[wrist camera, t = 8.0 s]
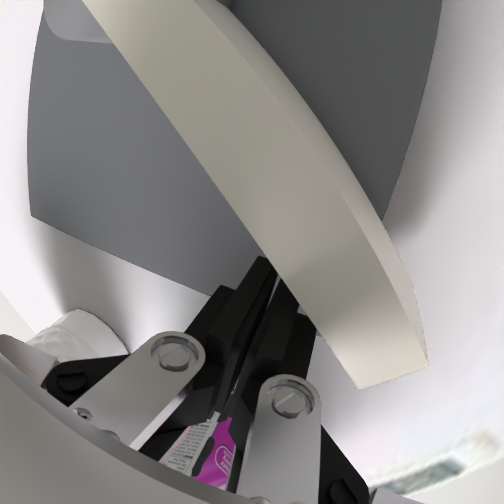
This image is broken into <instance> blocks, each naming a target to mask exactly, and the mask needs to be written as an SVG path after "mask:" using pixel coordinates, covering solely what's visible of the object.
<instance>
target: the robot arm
mask: <svg viewBox="0 0 504 504" xmlns="http://www.w3.org/2000/svg"><path fill="white" fill-rule="evenodd" d="M277 276H278V272H277V271H276V269H275V268H274V267H273V265H272V264H271V262H270V261H269V259H268V258H265V257H262V256H258V257H257V258H256V260H255V261H254V263H253V264H252V266H251V268H250V269H249V271H248V272H247V274H246V275H245V277H244V278H243V280H242V281H241V283H240V284H239V286H238V288H237V289H236V290H235V289H232V288H229V287H227V286H224V285H220V286H219V287H218V288H217V290H216V291H215V292H214V294H213V295H212V296H211V297H210V299H209V300H208V301H207V303H206V304H205V305H204V307H203V308H202V309H201V311H200V312H199V313H198V315H197V316H196V317H195V319H194V320H193V321H192V323H191V324H190V326H189V327H188V328H187V330H186V331H185V332H184V333H181V332H176V331H167V332H162V333H159V334H156V335H155V336H153V337H151V338H150V339H149V340H148V341H147V342H145V343H144V344H143V345H142V346H141V347H139V348H138V349H137V350H136V351H135V352H133V353H132V354H126V355H118V356H110V357H102V358H92V359H83V360H72V361H67V362H62V363H61V362H59V361H58V358H57V357H55V356H53V355H51V354H48V353H46V352H44V351H41V350H39V349H37V348H35V347H33V346H30V345H28V344H26V343H24V342H22V341H20V340H18V339H15V338H13V337H12V336H8V335H5V334H2V335H0V504H424V503H420V502H417V501H414V500H411V499H408V498H405V497H402V496H399V495H397V494H394V493H391V492H388V491H386V490H383V489H380V488H377V489H375V490H373V489H371V488H368V486H367V485H366V483H365V481H364V480H363V478H362V477H361V476H360V475H359V473H358V472H357V471H356V469H355V468H354V467H353V466H352V464H351V463H350V462H349V460H348V459H347V458H346V457H345V455H344V454H343V453H342V451H341V450H340V449H339V447H338V446H337V445H336V444H335V442H334V441H333V440H332V438H331V437H330V436H329V434H328V433H327V432H326V430H325V429H324V428H323V426H322V425H321V401H320V396H319V394H318V392H317V391H316V389H315V388H314V387H313V386H312V385H311V384H310V383H309V382H307V381H306V377H307V372H308V368H309V364H310V359H311V355H312V350H313V346H314V341H315V336H316V331H317V328H316V327H315V325H314V324H313V322H312V321H311V320H310V318H309V317H308V316H307V315H304V314H301V313H298V312H297V311H298V308H299V305H300V304H299V302H298V301H297V299H296V298H295V297H294V295H293V294H292V292H291V291H290V289H289V288H288V287H287V285H286V284H285V282H284V281H283V279H282V278H280V281H279V283H278V285H277V287H276V290H275V292H274V294H273V296H272V299H271V301H270V298H271V295H272V292H273V289H274V285H275V282H276V279H277ZM269 301H270V303H269ZM268 304H269V305H268ZM238 378H239V379H238ZM237 380H238V382H237ZM236 382H237V385H236ZM235 385H236V388H235V391H234V395H233V398H232V401H231V404H230V406H229V409H228V412H227V417H230V418H232V420H231V423H230V426H229V428H228V433H229V434H230V436H231V438H232V440H233V442H234V443H235V447H234V450H233V455H232V459H231V464H230V468H229V472H228V477H227V481H226V485H225V490H222V489H220V488H217V487H214V486H212V485H209V484H207V483H204V482H202V481H199V480H197V479H194V478H192V477H190V476H187V475H185V474H183V473H181V472H178V471H176V470H174V469H172V468H170V467H168V466H165V465H163V463H164V462H165V461H166V460H167V459H168V457H169V456H170V455H171V454H172V453H173V451H174V450H175V449H176V448H177V447H178V445H179V444H180V443H181V442H182V440H183V439H184V438H185V437H186V436H187V434H188V433H189V432H190V431H191V429H192V427H193V425H196V424H200V423H204V422H206V421H207V419H209V420H211V418H212V416H213V414H214V413H215V412H218V413H220V414H222V412H223V410H224V408H225V406H226V404H227V402H228V399H229V397H230V395H231V393H232V391H233V389H234V387H235Z"/></svg>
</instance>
